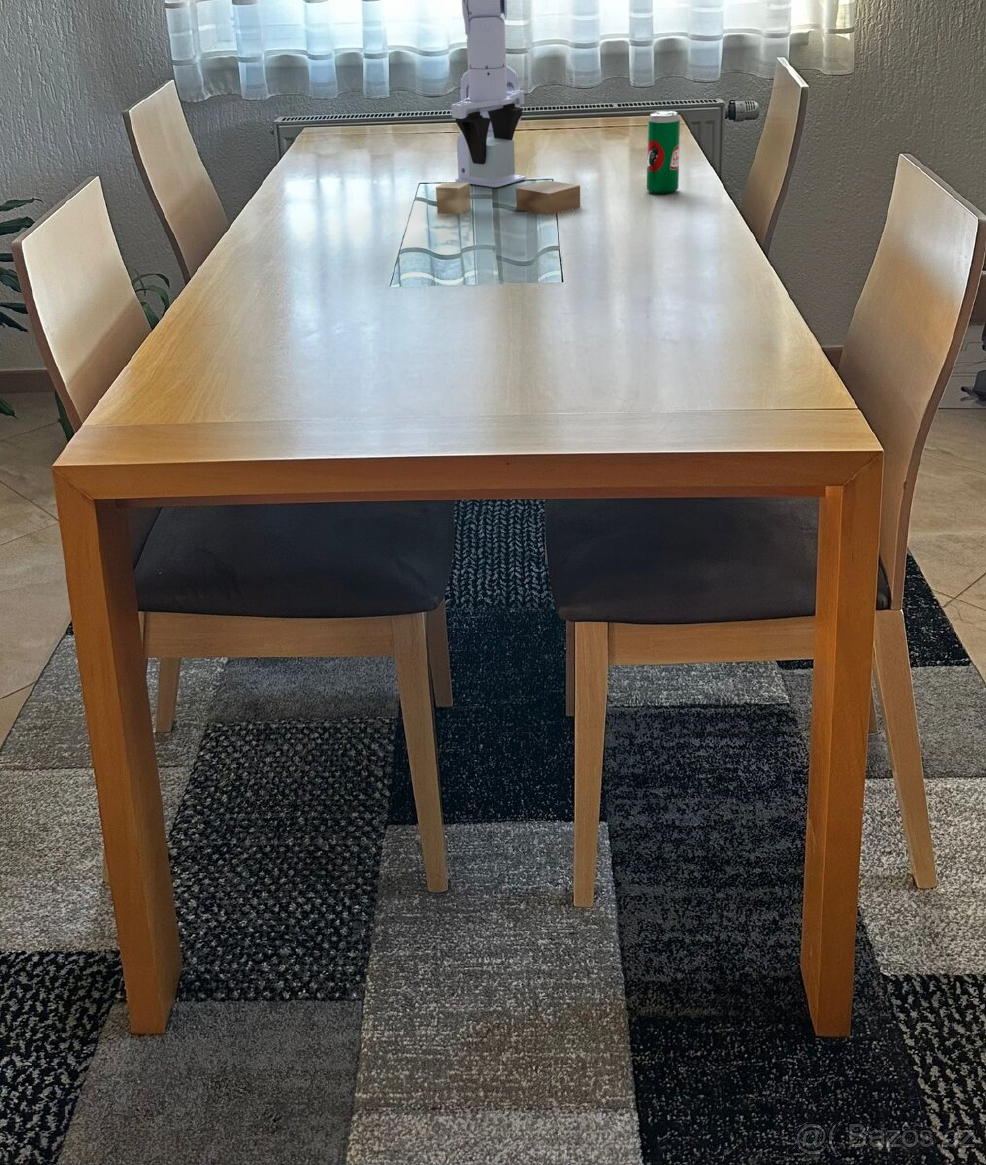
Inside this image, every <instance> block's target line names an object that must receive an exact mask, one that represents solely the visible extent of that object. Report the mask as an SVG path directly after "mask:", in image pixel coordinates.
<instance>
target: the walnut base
mask: <svg viewBox="0 0 986 1165" xmlns="http://www.w3.org/2000/svg"><path fill="white" fill-rule="evenodd" d="M515 193H516V194H515V197H516V198H515V199H516V210H518V209H519V210H518V211H523V210H524V212H530V213H536V214H541V215H546V216H552V215H556V214H559V212H560V213H563V212H567V211H570V210H573V209H572V208H574V209H577V208H579V207H581V184H580V185H579V184H575V183H573V184H572V183H567V182H560V181H555V180H548V179H546V180H542V181H539V182H535V183H530V184H527V185H524V186H519V187H516V188H515ZM576 207H577V208H576ZM569 209H570V210H569ZM566 210H567V211H566ZM562 211H563V212H562Z"/></svg>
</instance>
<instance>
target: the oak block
mask: <svg viewBox="0 0 986 1165" xmlns="http://www.w3.org/2000/svg"><path fill="white" fill-rule="evenodd" d="M470 186H471V184H470V183H461V182H456V181H455V182H454V181H445V182H442V183H441V184H439V185H438V186H436V187H435V197H436V211H437V214H445V215H446V214H448V215H462V214H464V213H465V212H467V211H469V210H471V208H472V207H471V206H472V205H471V190H470V189H471V187H470Z"/></svg>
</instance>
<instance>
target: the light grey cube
mask: <svg viewBox="0 0 986 1165" xmlns="http://www.w3.org/2000/svg"><path fill="white" fill-rule="evenodd" d="M468 151H469V148H468ZM515 163H516V162H515V140H514V141H513V140H506V139H498V138H490V137H489V138H487V141H486V162H485V164H475V163H473V162H472V158H471V155H470V151H469V176H472V177H479V178H485V179H492V180H495V179H498V178H502V177H506V176H509V175H513V174H515V175H516V170H515V169H516V168H515V165H516V164H515Z"/></svg>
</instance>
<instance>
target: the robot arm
mask: <svg viewBox="0 0 986 1165" xmlns="http://www.w3.org/2000/svg"><path fill="white" fill-rule="evenodd" d="M507 2H508V1H507V0H461V10H462V17H463V22H464V30H465V32H464V33H465V35H466V36H467V38H466V50H467V52H466V53H467V69H468V70H467V71H466V72H464V73H463V74H462V77H461V79H460V100H459V101H458V102H455V103H452V104H451V118H453V119H455V123H456V125H457V126H458V127H459V129H460V131H459V133H458V135H457V139H456V155H457V156H456V157H457V158H456V159H457V172H458V176H457V178H455V182H461V183H470V185H475V186H481V187H482V186H484V187H490V188H499V187H503V186H506V185H509V184H510V185H511V184H514V183H517V182H520V181H524V180H526V178H527V177H526V175H519V174H516V173H515V174H513V175H509V176H506V177H502V178H498V179H495V180H492V179H485V178H479V177H472V176H469V151H470V155H471V158H472V162H473V163H475V164H485V162H486V141H487V138H489V137H490V138H498V139H506V140H513V141H514V142H515V139H514V134H515V132H516V129H517V126H518V124H519V122H520V121H521V118H522V116H523V107H521V105H525V91H524V90H520V88H521V87H520V81H519V80H520V79H519V76H518V74H517V71H516V70H514V69H512V68H511V67H510V66H508V65H507V56H506V54H507V53H506V31H505V30H506V27H505V25H506V24H505V23H506V22H505V20H507V15H508V3H507ZM502 14H503V15H504V19H503V18H502ZM468 148H469V151H468Z"/></svg>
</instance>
